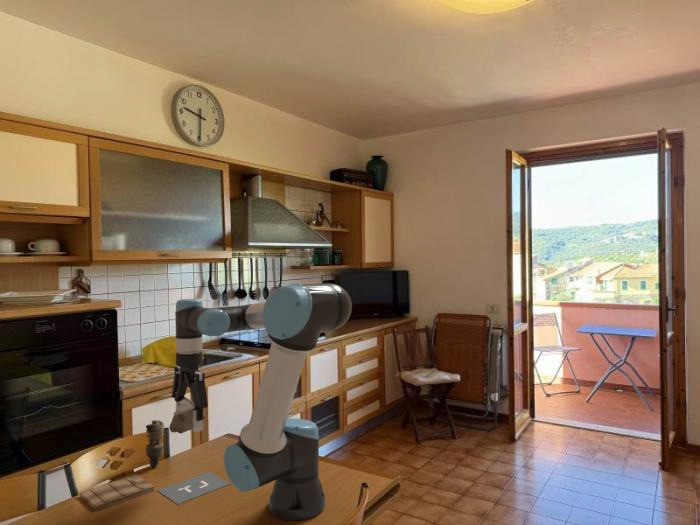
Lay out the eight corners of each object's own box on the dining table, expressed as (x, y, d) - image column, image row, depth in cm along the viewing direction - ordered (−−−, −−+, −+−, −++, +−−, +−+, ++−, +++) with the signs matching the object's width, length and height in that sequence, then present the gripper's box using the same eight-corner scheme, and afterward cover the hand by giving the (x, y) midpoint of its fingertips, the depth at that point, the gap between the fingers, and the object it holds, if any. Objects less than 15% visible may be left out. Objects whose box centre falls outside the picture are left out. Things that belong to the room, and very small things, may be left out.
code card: (230, 483, 147) (230, 483, 147) (177, 504, 135) (177, 504, 135) (209, 472, 156) (209, 471, 156) (157, 490, 143) (157, 490, 143)
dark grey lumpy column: (157, 461, 164) (156, 417, 164) (168, 465, 161) (167, 419, 161) (142, 468, 159) (142, 421, 159) (153, 471, 156) (153, 424, 156)
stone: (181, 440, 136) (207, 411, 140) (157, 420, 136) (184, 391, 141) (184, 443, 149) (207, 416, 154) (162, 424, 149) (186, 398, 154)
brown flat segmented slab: (154, 490, 143) (154, 485, 143) (96, 511, 132) (96, 505, 132) (136, 478, 152) (136, 473, 152) (80, 496, 140) (80, 491, 140)
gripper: (220, 354, 140) (220, 433, 140) (182, 345, 156) (182, 415, 156) (196, 358, 135) (196, 439, 135) (159, 348, 150) (159, 421, 150)
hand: (189, 426), depth 145 cm, fingers closed on stone, 10 cm apart
